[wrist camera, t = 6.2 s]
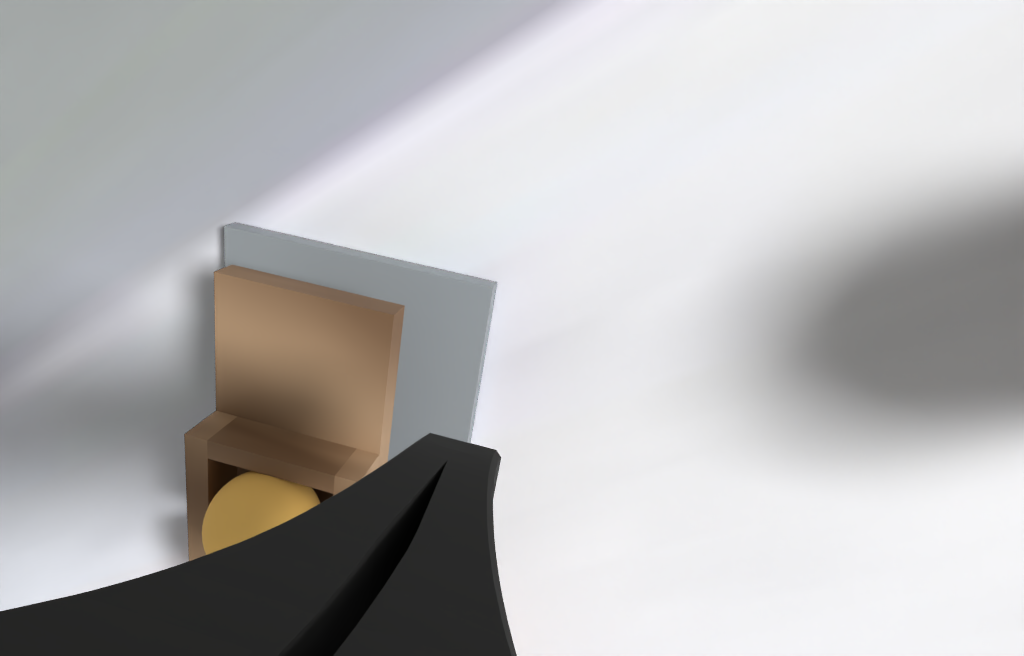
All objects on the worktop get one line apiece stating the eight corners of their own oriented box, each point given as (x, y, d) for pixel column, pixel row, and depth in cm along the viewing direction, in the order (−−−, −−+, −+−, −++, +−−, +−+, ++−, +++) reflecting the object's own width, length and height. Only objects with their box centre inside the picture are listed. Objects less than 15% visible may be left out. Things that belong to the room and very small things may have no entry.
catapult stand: (442, 610, 25) (404, 705, 21) (236, 549, 26) (165, 628, 22) (497, 282, 20) (460, 329, 16) (235, 222, 21) (141, 253, 17)
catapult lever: (371, 661, 23) (340, 725, 20) (229, 616, 23) (183, 674, 21) (413, 305, 17) (377, 338, 15) (227, 261, 18) (166, 287, 16)
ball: (305, 610, 18) (274, 586, 15) (205, 580, 19) (157, 551, 16) (350, 505, 20) (328, 467, 17) (257, 478, 20) (221, 438, 18)
